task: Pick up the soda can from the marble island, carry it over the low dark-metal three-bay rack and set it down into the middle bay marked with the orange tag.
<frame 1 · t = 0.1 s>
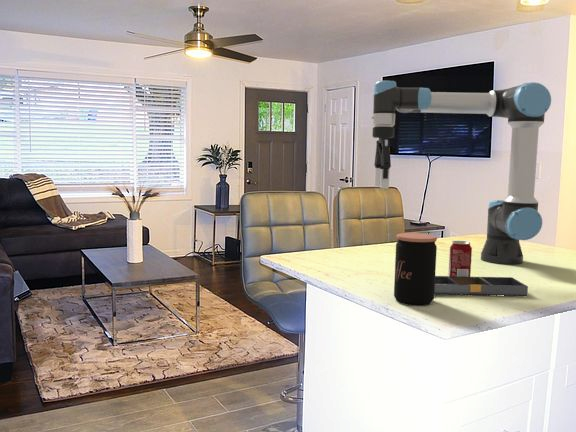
hand: (381, 187, 196), 28 cm above the countertop, fingers open, 13 cm apart
rack: (468, 290, 164), on the countertop
soda can: (459, 279, 180), on the countertop
coffee jar: (413, 301, 151), on the countertop
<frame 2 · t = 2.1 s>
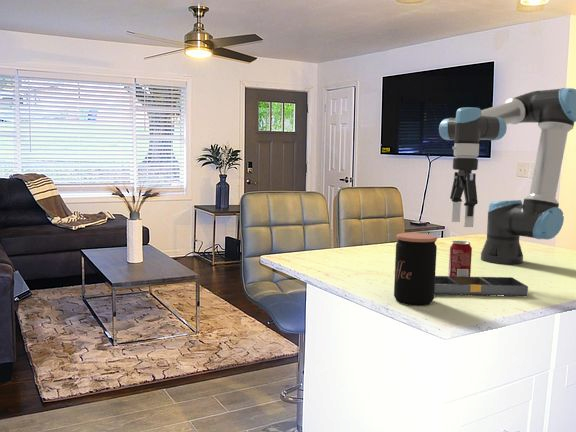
hand: (461, 224, 178), 18 cm above the countertop, fingers open, 13 cm apart
nothing on the countertop moved.
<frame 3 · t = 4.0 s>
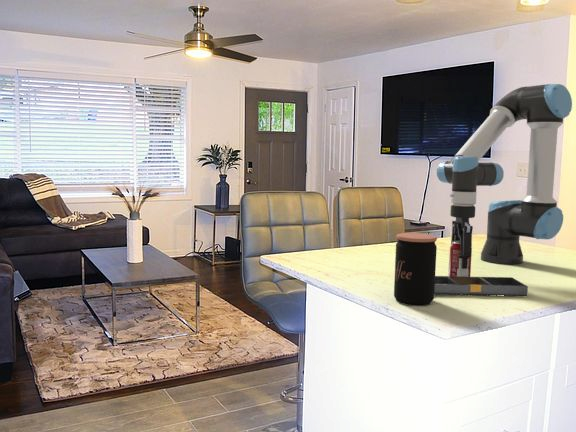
hand: (459, 275, 180), 1 cm above the countertop, fingers closed on soda can, 7 cm apart
soda can: (459, 279, 180), on the countertop, touching gripper
everything else where it was.
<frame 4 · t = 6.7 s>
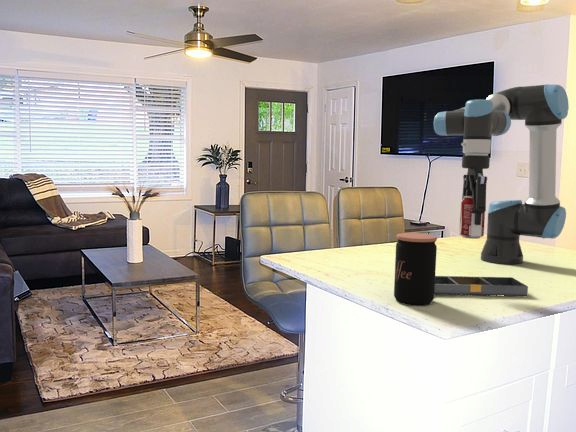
hand: (471, 233, 162), 17 cm above the countertop, fingers closed on soda can, 7 cm apart
soda can: (471, 238, 162), point 16 cm above the countertop, touching gripper
everything else where it was.
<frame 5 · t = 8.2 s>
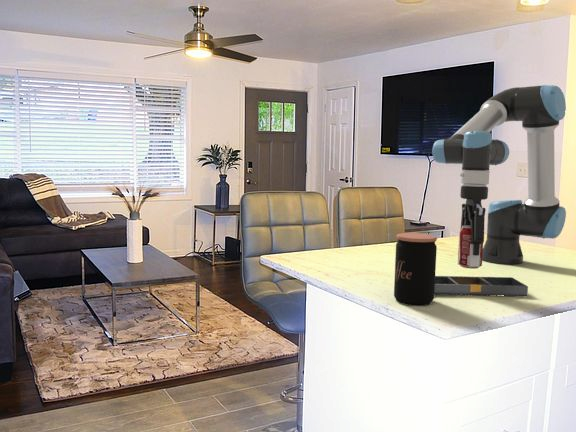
hand: (469, 263, 163), 8 cm above the countertop, fingers closed on soda can, 7 cm apart
soda can: (469, 267, 163), point 7 cm above the countertop, touching gripper
everything else where it was.
when the fingers open (4 cm above the countertop, at t = 9.4 s): soda can drops 2 cm, resting on rack.
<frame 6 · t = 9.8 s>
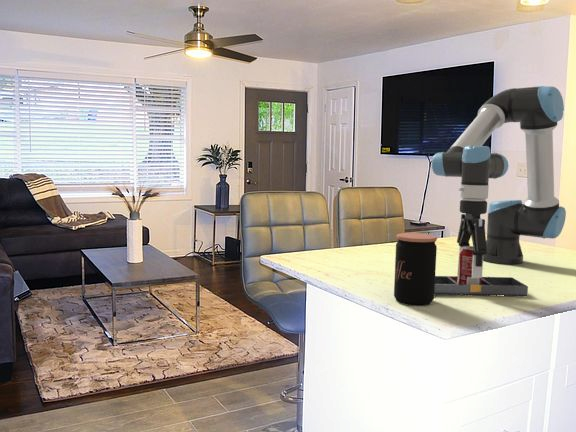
hand: (469, 272, 163), 5 cm above the countertop, fingers open, 12 cm apart
soda can: (468, 288, 164), point 1 cm above the countertop, touching rack
everything else where it was.
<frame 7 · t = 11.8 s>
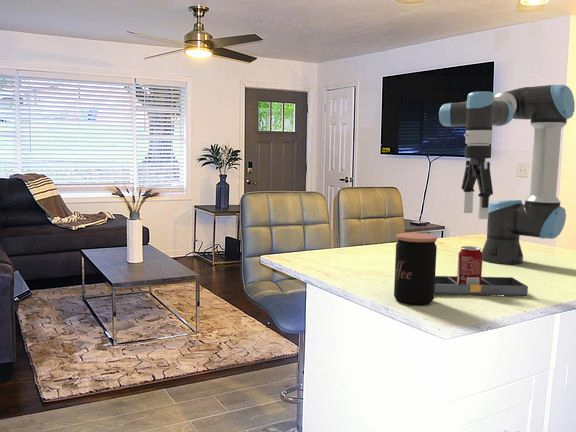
hand: (475, 215, 168), 22 cm above the countertop, fingers open, 13 cm apart
nothing on the countertop moved.
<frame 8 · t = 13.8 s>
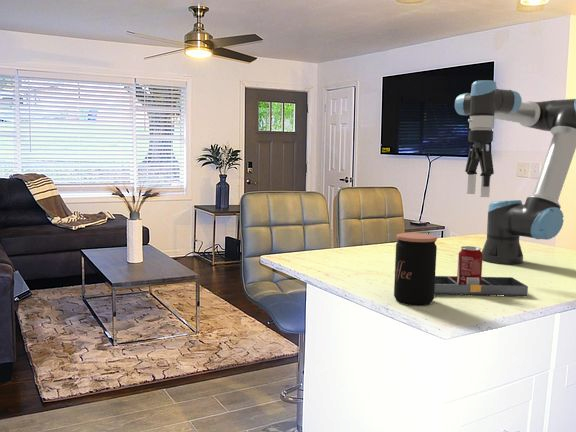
hand: (477, 195, 182), 27 cm above the countertop, fingers open, 13 cm apart
nothing on the countertop moved.
at the end: soda can inside the target area on the rack (0.0 cm from its centre), point 0.6 cm above the rack's base; soda can tilted 0°; the gripper is holding nothing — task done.
